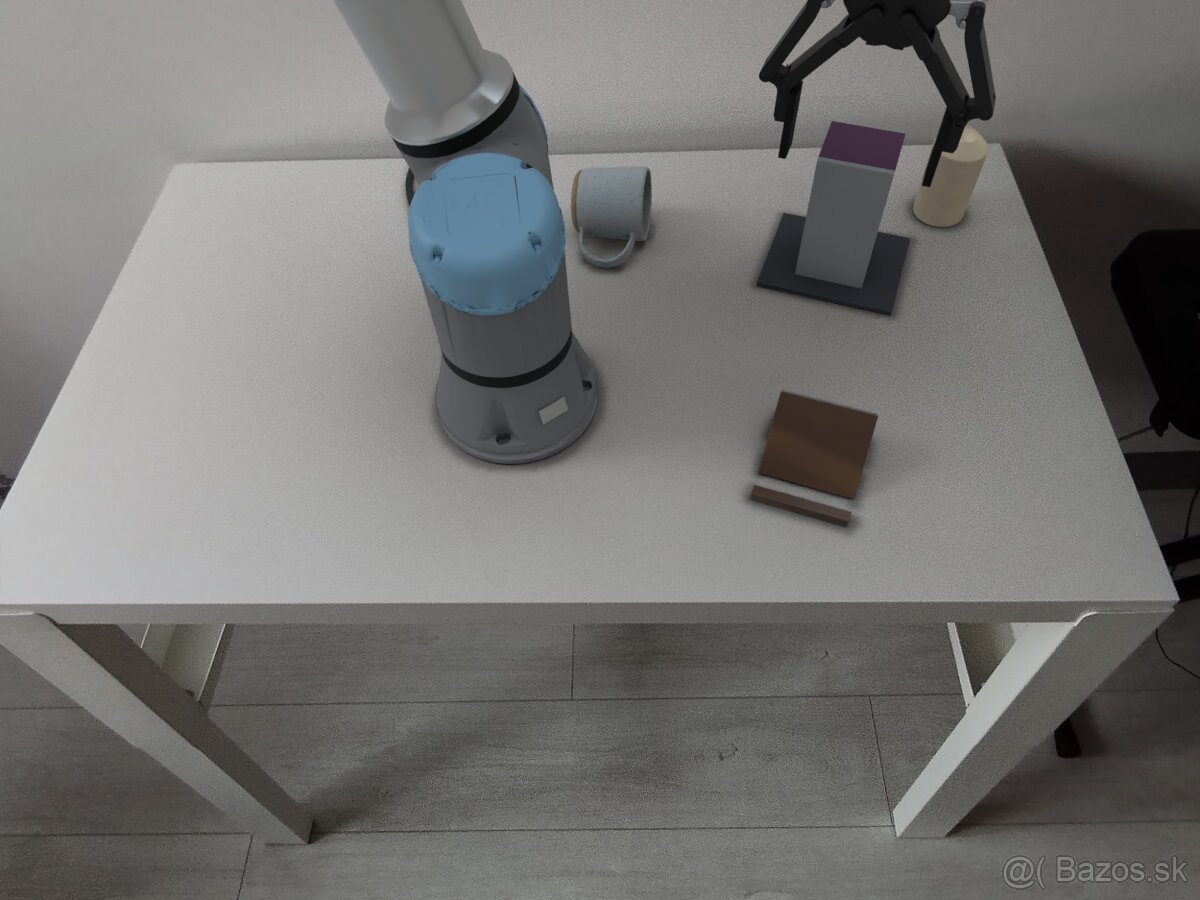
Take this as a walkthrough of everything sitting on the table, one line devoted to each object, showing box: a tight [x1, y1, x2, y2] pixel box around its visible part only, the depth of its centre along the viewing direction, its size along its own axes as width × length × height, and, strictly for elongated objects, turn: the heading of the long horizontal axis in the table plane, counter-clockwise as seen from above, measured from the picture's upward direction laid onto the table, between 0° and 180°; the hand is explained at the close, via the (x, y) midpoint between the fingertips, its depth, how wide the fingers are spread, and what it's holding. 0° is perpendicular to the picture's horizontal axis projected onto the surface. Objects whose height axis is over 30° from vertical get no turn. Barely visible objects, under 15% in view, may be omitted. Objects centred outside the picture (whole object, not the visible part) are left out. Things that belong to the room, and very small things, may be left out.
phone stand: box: [749, 389, 879, 528], centre depth 73 cm, size 10×8×7 cm
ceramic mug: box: [570, 166, 653, 268], centre depth 91 cm, size 11×8×8 cm
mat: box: [756, 212, 911, 316], centre depth 90 cm, size 14×12×1 cm
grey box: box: [795, 120, 906, 289], centre depth 84 cm, size 14×7×14 cm
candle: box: [912, 124, 990, 228], centre depth 91 cm, size 6×6×10 cm
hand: (854, 164), depth 81 cm, fingers open, 13 cm apart
